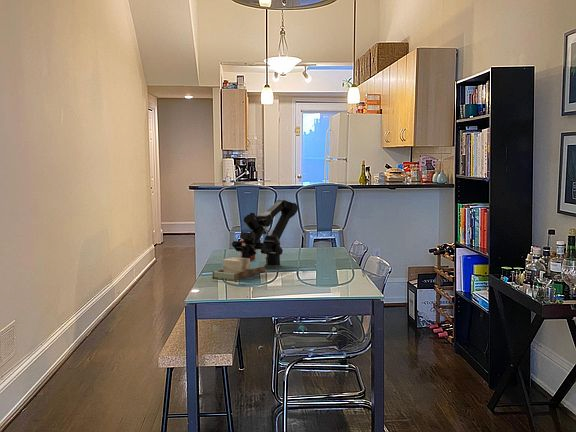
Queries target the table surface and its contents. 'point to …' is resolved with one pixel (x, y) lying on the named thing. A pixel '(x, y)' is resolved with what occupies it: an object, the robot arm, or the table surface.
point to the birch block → (236, 265)
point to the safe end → (224, 276)
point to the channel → (245, 272)
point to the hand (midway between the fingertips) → (242, 260)
